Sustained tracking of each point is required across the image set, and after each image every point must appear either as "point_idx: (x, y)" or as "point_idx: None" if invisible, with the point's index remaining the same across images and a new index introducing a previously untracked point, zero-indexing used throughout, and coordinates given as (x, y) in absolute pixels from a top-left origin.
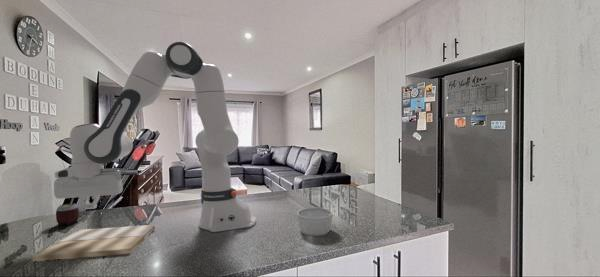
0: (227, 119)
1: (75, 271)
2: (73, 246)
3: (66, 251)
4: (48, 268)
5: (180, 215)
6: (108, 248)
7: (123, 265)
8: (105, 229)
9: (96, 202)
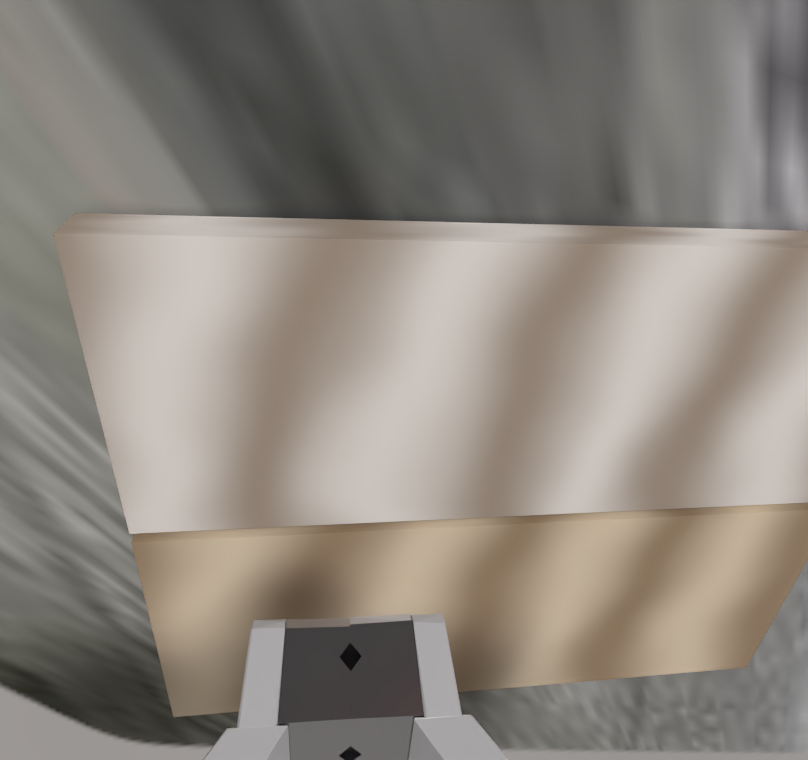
0: None
1: (504, 749)
2: None
3: None
4: None
5: None
6: (617, 659)
7: (701, 720)
8: (451, 295)
9: (472, 745)
